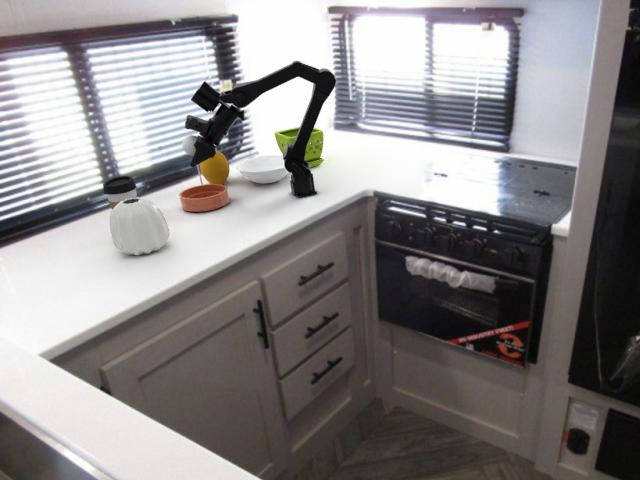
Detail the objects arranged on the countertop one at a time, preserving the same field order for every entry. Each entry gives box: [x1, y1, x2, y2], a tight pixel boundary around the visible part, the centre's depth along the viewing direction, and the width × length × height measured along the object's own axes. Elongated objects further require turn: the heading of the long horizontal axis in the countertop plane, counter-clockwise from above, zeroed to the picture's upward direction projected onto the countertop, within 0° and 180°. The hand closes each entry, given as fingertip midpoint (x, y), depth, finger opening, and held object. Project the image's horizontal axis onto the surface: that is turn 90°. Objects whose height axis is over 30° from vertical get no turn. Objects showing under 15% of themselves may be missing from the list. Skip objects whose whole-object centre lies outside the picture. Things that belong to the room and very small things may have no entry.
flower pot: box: [274, 126, 324, 168], centre depth 209 cm, size 14×14×13 cm
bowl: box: [235, 154, 290, 184], centre depth 196 cm, size 20×20×6 cm
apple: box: [199, 150, 230, 185], centre depth 196 cm, size 10×10×12 cm
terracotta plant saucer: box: [178, 183, 231, 213], centre depth 178 cm, size 14×14×4 cm
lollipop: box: [181, 134, 204, 185], centre depth 172 cm, size 6×6×15 cm
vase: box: [109, 196, 171, 256], centre depth 148 cm, size 14×14×13 cm
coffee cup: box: [102, 175, 139, 211], centre depth 159 cm, size 8×8×15 cm
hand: (192, 164), depth 173 cm, fingers closed on lollipop, 5 cm apart
